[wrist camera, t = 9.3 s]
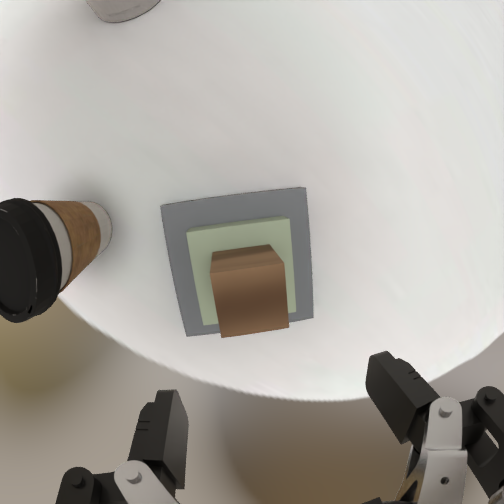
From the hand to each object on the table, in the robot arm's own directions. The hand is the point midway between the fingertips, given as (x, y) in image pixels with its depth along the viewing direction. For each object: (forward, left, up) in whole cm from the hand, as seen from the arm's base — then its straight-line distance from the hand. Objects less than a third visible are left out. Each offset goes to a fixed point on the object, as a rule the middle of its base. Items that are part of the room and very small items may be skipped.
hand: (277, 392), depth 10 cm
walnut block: (0, 0, -15) cm, 15 cm away
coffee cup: (-6, -16, -19) cm, 26 cm away
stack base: (0, 0, -19) cm, 19 cm away
